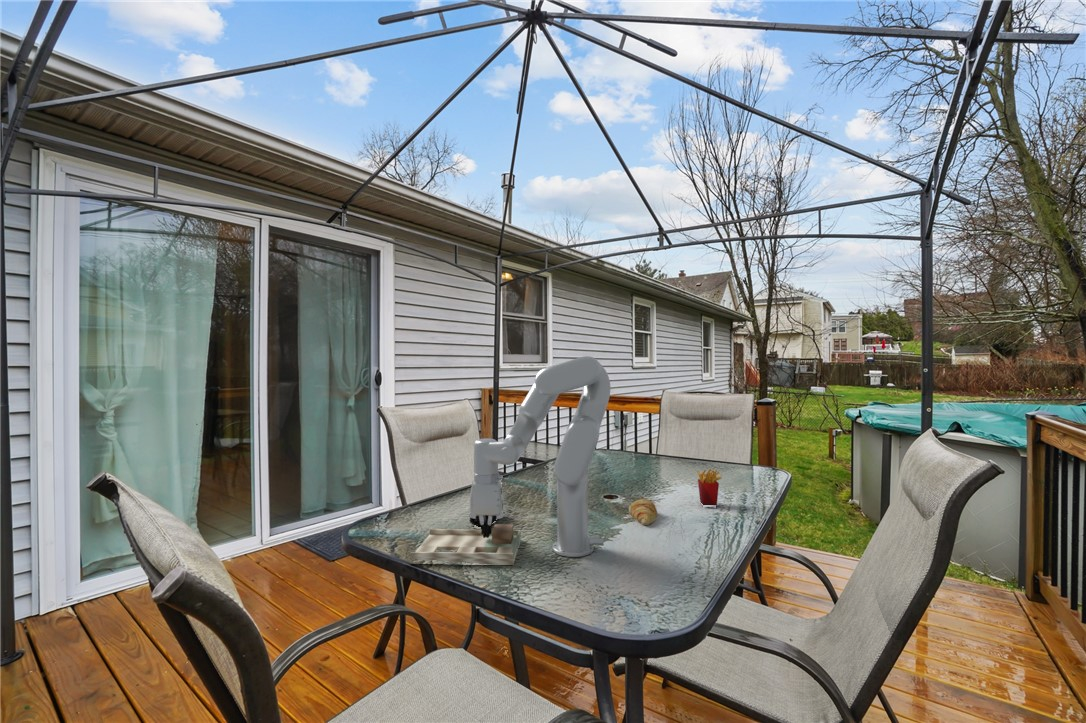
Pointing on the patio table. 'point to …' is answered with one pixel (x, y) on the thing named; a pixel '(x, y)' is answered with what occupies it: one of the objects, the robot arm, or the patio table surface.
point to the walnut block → (502, 534)
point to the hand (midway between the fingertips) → (486, 536)
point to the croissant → (643, 511)
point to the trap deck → (467, 547)
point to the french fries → (708, 487)
